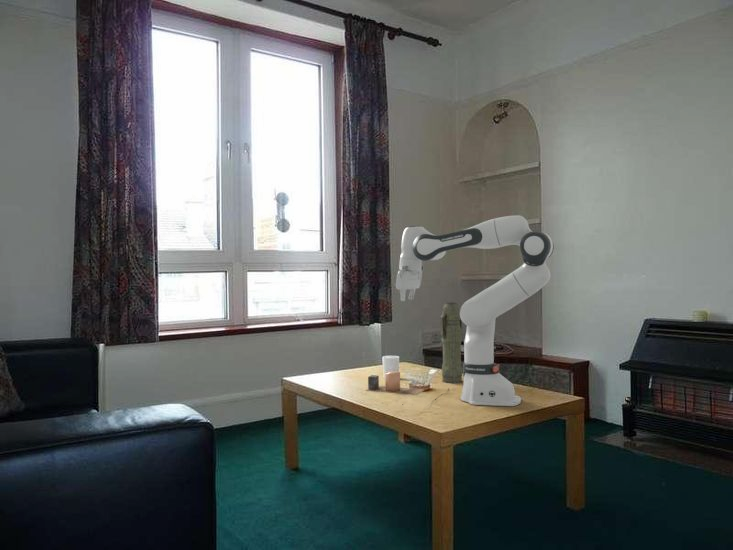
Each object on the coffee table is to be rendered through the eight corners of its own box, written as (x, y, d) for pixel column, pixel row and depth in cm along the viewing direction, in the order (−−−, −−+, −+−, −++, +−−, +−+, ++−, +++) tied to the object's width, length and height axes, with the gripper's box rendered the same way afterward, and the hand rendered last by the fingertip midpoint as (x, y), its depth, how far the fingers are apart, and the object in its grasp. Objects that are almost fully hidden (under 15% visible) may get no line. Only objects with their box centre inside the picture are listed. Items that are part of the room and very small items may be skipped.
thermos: (435, 381, 251) (434, 303, 250) (453, 378, 258) (452, 301, 258) (450, 384, 244) (449, 303, 244) (468, 380, 252) (467, 302, 251)
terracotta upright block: (402, 388, 230) (402, 371, 230) (397, 391, 224) (396, 374, 224) (388, 387, 232) (388, 370, 232) (383, 390, 227) (383, 373, 227)
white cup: (388, 380, 254) (388, 358, 254) (379, 378, 261) (379, 356, 261) (402, 378, 258) (402, 357, 258) (393, 376, 265) (393, 355, 265)
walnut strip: (424, 392, 228) (424, 377, 228) (417, 397, 219) (416, 381, 219) (374, 388, 237) (374, 373, 237) (365, 393, 228) (365, 378, 228)
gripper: (409, 266, 215) (405, 302, 215) (425, 266, 233) (422, 299, 234) (393, 265, 217) (390, 300, 218) (411, 265, 236) (407, 297, 237)
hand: (406, 300), depth 226 cm, fingers open, 8 cm apart
